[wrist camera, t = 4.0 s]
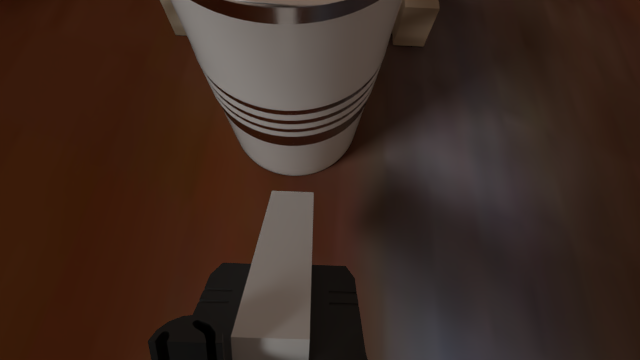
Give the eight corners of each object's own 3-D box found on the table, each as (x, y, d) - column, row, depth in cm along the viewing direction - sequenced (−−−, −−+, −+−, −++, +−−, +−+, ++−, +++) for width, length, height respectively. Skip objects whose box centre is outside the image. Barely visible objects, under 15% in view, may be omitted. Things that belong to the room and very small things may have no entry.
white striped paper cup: (181, 138, 20) (22, -94, 9) (263, 38, 23) (222, -233, 12) (336, 224, 18) (382, 76, 7) (403, 105, 21) (510, -132, 10)
